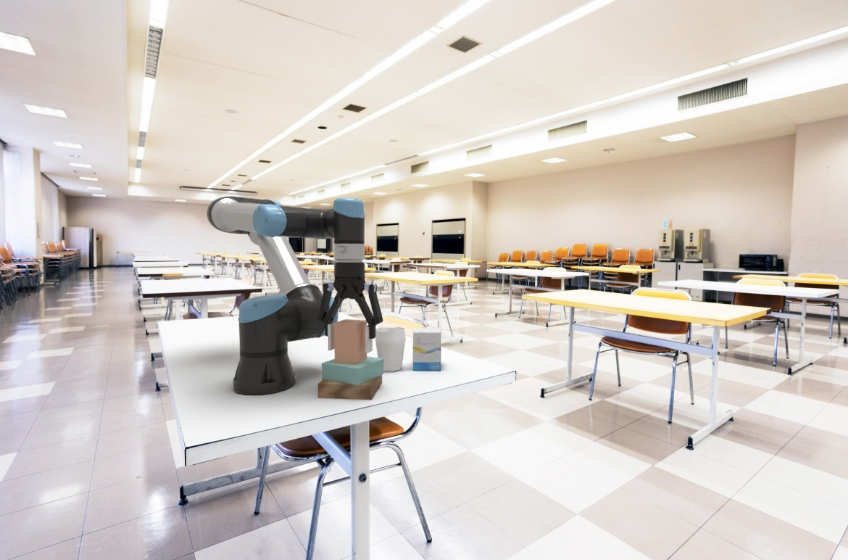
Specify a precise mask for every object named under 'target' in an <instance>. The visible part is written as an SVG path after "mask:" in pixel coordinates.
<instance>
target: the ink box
mask: <svg viewBox="0 0 848 560" xmlns="http://www.w3.org/2000/svg"><path fill="white" fill-rule="evenodd" d="M441 330H442V329H441V327H428V326H427V327H424V326H423V327H422V326H421V327H414V328H413V332H412V371H427V372H428V371H431V372H432V371H439V372H440V371H441V370H442V332H441Z"/></svg>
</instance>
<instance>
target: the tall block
mask: <svg viewBox="0 0 848 560" xmlns="http://www.w3.org/2000/svg"><path fill="white" fill-rule="evenodd" d="M367 325H368V323H367V321H366V319H349V318H348V319H347V318H346V319H343V320H338V322H335V323H334V342H335V349H334V359H335V363H342V364H354V365H357V364H359V363H361V362H362V361H364V360H366V359H367V356H368V353H365V327H366V326H367Z"/></svg>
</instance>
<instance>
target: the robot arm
mask: <svg viewBox="0 0 848 560" xmlns="http://www.w3.org/2000/svg"><path fill="white" fill-rule="evenodd" d="M206 217H207V220H208V222H209V224H210V225H211V226H212V227H213V228H214V229H216V230H218V231H219V232H224V233H226V234H232V235H233V234H236V235H248V237H249V239H250V242H251V243H253V244H254V245H257V246H258V247H259V249H260V252H261V254H262V255H263V257H264V259H265V262H266V264H267V265H268V268H269V269H270V272H271V274H272V276H273V278H274V279H275V283H276V284H277V286H278V288H279V290H280V293H274V294H263V295H258V296H253V297H250V298H247V299H245V300H243V301H242V302H241V303H240V304H239V307H238V310H239V311H238V318H237V322H238V331H239V332H238V334H239V335H238V336H239V337H238V338H239V360H238V364H237V367H236V370H235V373H234V377H233V379H232V388H233V391H234V393H238V394H242V395H268V394H273V393H278V392H282V391H285V390H288V389H290V388H291V387H293V386H294V385H296V373H295V371H294V369H293V365H292V361H291V360H290V357H289V349H288V345H289V343H292V342H297V341H303V340H309V339H315V338H316V339H320V338H322V337H327V350H328V351H332V350H335V342H334V323H335V322H338V321H339V310H340V308H341V306H342V304H343V302H344V300H347V299H350V300H354V301H355V302H356V303H357V306H358V308H359V309H360V311H361V313H362V315H363V317H364V320H366V321H367V326H366V327H365V353H367V354H369V353H371V352H373V343H374V342H373V340H374V339H375V337H376V329H377V328H376V326H377V325H379V324H382V323H383V322H384V318H383V314H382V310H381V305H380V302H379V298H378V294H377V290H378V284H376V283H366V280H365V277H366V273H365V272H366V268H365V266H366V264H365V262H363V261H364V260H365V259H366V253H365V250H366V249H365V232H366V231H365V227H366V226H365V224H366V223H365V219H366V214H365V204H364V201H363V200H362V199H359V198H354V197H337V198H336V199H334V200H333V205H332V208H331V209H330V208H329V209H328V208H327V209H320V208H310V207H309V208H308V207H296V206H287V205H283V204H282V203H280V202H279V201H276V200H271V199H267V198H266V199H260V198H254V197H253V198H252V197H243V196H236V195H235V196H234V195H233V196H231V195H230V196H221V197H218V198H216V199H214V200H212V201H211V202H210V204H209V205H208V206H207V209H206ZM288 238H298V239H299V238H303V239H315V240H327V239H328V240H329V239H333V259H334V260H335V261H336V262H334V263H333V270H334V271H333V275H334V281H333V282H324V283H323V284H322V291H323V293H322V291H321V290H320V288H319V286H318V285H316V284H314V283H311V281H310V280H309V278H308V275H307V274H306V272H305V271H304V269H303V266H302V264H301V263H300V261H299V259H298V257H297V255H296V253H295V251H294V250H293V247H292V246H291V243H290V242H289V240H288ZM365 289H366V290H365ZM334 290H335V292H336V293H335V296H334V297H333V291H334ZM364 290H365V291H366V292H367V295H368V299H369V303H370V304H369V305H370V306H369V305H368V302H367V300H366V296H365V294H364ZM370 307H371V308H370Z"/></svg>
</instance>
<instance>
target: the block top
mask: <svg viewBox="0 0 848 560" xmlns="http://www.w3.org/2000/svg"><path fill="white" fill-rule="evenodd" d="M384 373H385V371H384V359H382V358H378V357H375V356H368V355H367V359H366V360H364V361H362V362H361V363H359V364H357V365H354V364H342V363H335V358H333V359H331V360H326V361H325V362H321V380H323V379H324V380H329V381H335V382H341V383H346V384H352V385H357V386H358V385H361V384H363V383H365V382H367V381H369V380H372V379H374V378H376V377H378V376H380V375H382V376H383V375H384Z"/></svg>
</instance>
